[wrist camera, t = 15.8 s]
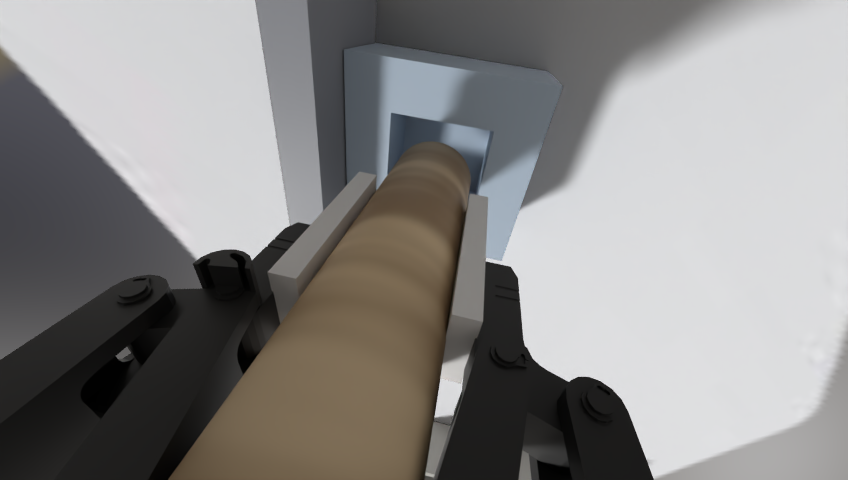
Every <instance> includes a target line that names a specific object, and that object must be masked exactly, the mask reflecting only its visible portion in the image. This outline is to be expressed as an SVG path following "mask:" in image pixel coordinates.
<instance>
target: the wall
mask: <svg viewBox="0 0 848 480" xmlns="http://www.w3.org/2000/svg"><path fill="white" fill-rule="evenodd" d="M255 2H256V8H257V15H258V21H259V28H260V34H261V41H262V47H263V54H264V60H265V67H266V73H267V80H268V86H269V93H270V99H271V106H272V112H273V119H274V125H275V132H276V138H277V145H278V151H279V158H280V164H281V171H282V177H283V184H284V190H285V197H286V203H287V210H288V216H289V223H290V226H291V225H293V224H295V223H297V222H300V223H304V224H309V225H311V224H312V223H313V222H314V221H315V220H316V218H317V217H318V216H319V215H320V214H321V213H322V212H323V211H324V210H325V209H326V207H327V206H328V205H329V204H330V203H331V202H332V201H333V200H334V199H335V198H336V197H337V195H338V194H339V193H340V192H341V191H342V190H343V189H344V188H345V187H346V186H347V171H346V127H345V84H344V49H348V48H353V47H358V46H363V45H369V44H374V43H375V42H376V6H377V0H255Z"/></svg>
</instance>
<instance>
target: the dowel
mask: <svg viewBox="0 0 848 480" xmlns="http://www.w3.org/2000/svg"><path fill="white" fill-rule="evenodd" d="M470 183H471V176H470V171H469V167H468V165H467V163H466V161H465V159H464V158H463V157H462V155H461V154H460V153H459V152H458V151H456V150H455V149H454V148H452V147H450V146H449V145H446V144H444V143H440V142H434V141H427V142H421V143H418V144H416V145H413V146H412V147H410V148H409V149H407V150H406V151H405V152H404V153H403V154H402V156H401V157H400V158H399V160H398V161H397V163H396V164H395V165H394V167H393V168H392V170H391V171H390V172H389V174H388V175H387V176H386V178H385V179H384V181H383V182H382V183H381V185H380V186H379V188H378V189H377V190H376V192H375V193H374V195H373V196H372V197H371V199H370V200H369V201H368V203H367V204H366V206H365V207H364V208H363V210H362V211H361V213H360V214H359V215H358V217H357V218H356V220H355V221H354V222H353V224H352V225H351V226H350V228H349V229H348V231H347V232H346V233H345V235H344V236H343V238H342V239H341V240H340V242H339V243H338V244H337V246H336V247H335V249H334V250H333V251H332V253H331V254H330V256H329V257H328V258H327V260H326V261H325V263H324V264H323V265H322V267H321V268H320V269H319V271H318V272H317V274H316V275H315V276H314V278H313V279H312V281H311V282H310V283H309V285H308V286H307V288H306V289H305V290H304V292H303V293H302V294H301V296H300V297H299V299H298V300H297V301H296V303H295V304H294V306H293V307H292V308H291V310H290V311H289V312H288V314H287V315H286V317H285V318H284V319H283V321H282V322H281V324H280V325H279V326H278V328H277V329H276V331H275V332H274V333H273V335H272V336H271V337H270V339H269V340H268V342H267V343H266V344H265V346H264V347H263V349H262V350H261V351H260V353H259V354H258V356H257V357H256V358H255V360H254V361H253V362H252V364H251V365H250V367H249V368H248V369H247V371H246V372H245V374H244V375H243V376H242V378H241V379H240V380H239V382H238V383H237V385H236V386H235V387H234V389H233V390H232V392H231V393H230V394H229V396H228V397H227V399H226V400H225V401H224V403H223V404H222V405H221V407H220V408H219V410H218V411H217V412H216V414H215V415H214V417H213V418H212V419H211V421H210V422H209V424H208V425H207V426H206V428H205V429H204V430H203V432H202V433H201V435H200V436H199V437H198V439H197V440H196V442H195V443H194V444H193V446H192V447H191V448H190V450H189V451H188V453H187V454H186V455H185V457H184V458H183V460H182V461H181V462H180V464H179V465H178V467H177V468H176V469H175V471H174V472H173V473H172V475H171V476H170V478H169V479H168V480H425V473H426V467H427V461H428V454H429V448H430V441H431V435H432V428H433V422H434V415H435V409H436V403H437V396H438V390H439V383H440V377H441V370H442V364H443V357H444V351H445V344H446V332H447V325H448V319H449V313H450V306H451V300H452V294H453V287H454V281H455V275H456V269H457V262H458V256H459V250H460V243H461V237H462V231H463V224H464V218H465V212H466V208H467V203H468V196H469V190H470Z"/></svg>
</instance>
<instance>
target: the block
mask: <svg viewBox="0 0 848 480" xmlns="http://www.w3.org/2000/svg"><path fill="white" fill-rule="evenodd" d="M344 84H345V127H346V171H347V184H348V183H349V182H350V181H351V180H352V179H353V178H354V177H355V176H356V175H357V174H358V172H364V173H369V174H374V175H377V181H376V190H377V189H378V188H379V186H380V185H381V183H382V182H383V181H384V179H385V178H386V176H387V175H388V174H389V172H390V171H391V170H392V168H393V167H394V165H395V164H396V163H397V161H398V160H399V158H400V157H401V156H402V154H403V153H404V152H405V151H406V150H407V149H409V148H410V147H412V146H413V145H416V144H418V143H421V142H427V141H434V142H440V143H444V144H446V145H449V146H450V147H452V148H454V149H455V150H456V151H458V152H459V153H460V154H461V155H462V157H463V158H464V159H465V161H466V163H467V165H468V167H469V171H470V176H471V183H470V190H469V195H470V194H475V195H480V196H485V197H488V216H487V239H486V258H490V259H495V260H500V261H502V258H503V255H504V253H505V250H506V247H507V244H508V241H509V238H510V236H511V233H512V230H513V227H514V224H515V221H516V219H517V216H518V213H519V210H520V207H521V204H522V202H523V199H524V196H525V193H526V190H527V187H528V184H529V182H530V179H531V176H532V173H533V170H534V167H535V165H536V162H537V159H538V156H539V153H540V150H541V148H542V145H543V142H544V139H545V136H546V133H547V131H548V128H549V125H550V122H551V119H552V116H553V114H554V111H555V108H556V105H557V102H558V99H559V97H560V94H561V91H562V88H563V86H562V85H561V84H560V83H559V82H558V81H557V80H556V79H555V78H554V77H553V76H552V75H551V74H550V73H549V72H548V71H544V70H538V69H532V68H526V67H520V66H514V65H508V64H502V63H496V62H490V61H484V60H478V59H472V58H466V57H459V56H453V55H447V54H441V53H435V52H429V51H423V50H417V49H411V48H405V47H399V46H393V45H387V44H381V43H374V44H369V45H363V46H358V47H353V48H348V49H344ZM468 199H469V196H468ZM467 204H468V203H467Z"/></svg>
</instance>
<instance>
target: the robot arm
mask: <svg viewBox="0 0 848 480" xmlns="http://www.w3.org/2000/svg"><path fill="white" fill-rule="evenodd" d="M376 181H377V175H374V174H369V173H364V172H358V174H357V175H356V176H355V177H354V178H353V179H352V180H351V181H350V182H349V183H348V184H347V186H346V187H345V188H344V189H343V190H342V191H341V192H340V193H339V194H338V195H337V197H336V198H335V199H334V200H333V201H332V202H331V203H330V204H329V205H328V206H327V207H326V209H325V210H324V211H323V212H322V213H321V214H320V215H319V216H318V217H317V218H316V220H315V221H314V222H313V223H312V224H311V225H309V224H304V223H300V222H297V223H295V224H293V225H291V226H289V227H287V228H285V229H284V230H283V231H282V232H281V233H280V234H279V235H278V236H277V237H276V238H275V239H274V240H273V241H271V242H270V243H269V244H268V247H265V248H264V249H263V250H262V251H261V252H260V253H259V254H258V255H257V256H256V257H255V258H254V259H253V260H251V258H250V256H249V255H248V254H246V253H245V252H243V251H239V250H221V251H216V252H212V253H210V254H207V255H205V256H203V257H201V258H200V259H198V260H197V261H196V262H195V263H193V265H194V268H195V270H196V273H197V275H198V278H199V280H200V283H201V285H202V289H173V290H172V289H171V288H170V287H169V284H168V283H167V280H166V279H164V278H162V277H160V276H155V275H144V276H137V277H133V278H130V279H127V280H124V281H122V282H120V283H118V284H116V285H114V286H112V287H111V288H109V289H108V290H106V291H105V292H104V293H102V294H100V295H99V296H97V297H96V298H94V299H92V300H91V301H90V302H88V303H86V304H85V305H83V306H82V307H80V308H79V309H78V310H76V311H74V312H73V313H71V314H70V315H68V316H67V317H65V318H64V319H62V320H61V321H59V322H57V323H56V324H54V325H53V326H51V327H50V328H48V329H47V330H45V331H44V332H42V333H41V334H39V335H38V336H36V337H35V338H33V339H32V340H30V341H28V342H27V343H25V344H24V345H23V346H21V347H19V348H18V349H16V350H15V351H13V352H12V353H10V354H9V355H7V356H6V357H4V358H3V359H1V360H0V480H168V479H169V478H170V476H171V475H172V473H173V472H174V471H175V469H176V468H177V467H178V465H179V464H180V462H181V461H182V460H183V458H184V457H185V455H186V454H187V453H188V451H189V450H190V448H191V447H192V446H193V444H194V443H195V442H196V440H197V439H198V437H199V436H200V435H201V433H202V432H203V430H204V429H205V428H206V426H207V425H208V424H209V422H210V421H211V419H212V418H213V417H214V415H215V414H216V412H217V411H218V410H219V408H220V407H221V405H222V404H223V403H224V401H225V400H226V399H227V397H228V396H229V394H230V393H231V392H232V390H233V389H234V387H235V386H236V385H237V383H238V382H239V380H240V379H241V378H242V376H243V375H244V374H245V372H246V371H247V369H248V368H249V367H250V365H251V364H252V362H253V361H254V360H255V358H256V357H257V356H258V354H259V353H260V351H261V350H262V349H263V347H264V346H265V344H266V343H267V342H268V340H269V339H270V337H271V336H272V335H273V333H274V332H275V331H276V329H277V328H278V326H279V325H280V324H281V322H282V321H283V319H284V318H285V317H286V315H287V314H288V312H289V311H290V310H291V308H292V307H293V306H294V304H295V303H296V301H297V300H298V299H299V297H300V296H301V294H302V293H303V292H304V290H305V289H306V288H307V286H308V285H309V283H310V282H311V281H312V279H313V278H314V276H315V275H316V274H317V272H318V271H319V269H320V268H321V267H322V265H323V264H324V263H325V261H326V260H327V258H328V257H329V256H330V254H331V253H332V251H333V250H334V249H335V247H336V246H337V244H338V243H339V242H340V240H341V239H342V238H343V236H344V235H345V233H346V232H347V231H348V229H349V228H350V226H351V225H352V224H353V222H354V221H355V220H356V218H357V217H358V215H359V214H360V213H361V211H362V210H363V208H364V207H365V206H366V204H367V203H368V201H369V200H370V199H371V197H372V196H373V195H374V193H375V192H376ZM487 216H488V197H485V196H480V195H475V194H470V195H469V199H468V204H467V208H466V212H465V218H464V224H463V231H462V237H461V243H460V250H459V256H458V262H457V269H456V275H455V281H454V287H453V294H452V300H451V306H450V313H449V319H448V325H447V332H446V344H445V351H444V357H443V364H442V370H441V377H440V379H444V380H448V381H452V382H456V383H460V384H461V382H462V379H463V386H462V392H461V395H460V397H459V400H458V403H457V405H456V408H455V411H454V416H453V419H452V422H451V425H450V428H449V431H448V435H447V438H446V441H445V444H444V447H443V450H442V453H441V456H440V460H439V463H438V466H437V469H436V472H435V475H434V478H433V480H519V472H520V464H521V457H522V450H523V451H525V452H526V453H528V454H529V461H530V470H531V479H532V480H654V479H653V476H652V474H651V471H650V468H649V466H648V463H647V460H646V458H645V455H644V452H643V450H642V447H641V445H640V442H639V439H638V437H637V434H636V431H635V429H634V426H633V423H632V421H631V418H630V415H629V413H628V411H627V409H626V407H625V405H624V403H623V402H622V400H621V399H620V397H619V396H618V395H617V394H616V393H615V392H614V391H613V390H612V389H611V388H609V387H608V386H606V385H605V384H604V383H602V382H601V381H598V380H595V379H593V378H590V377H577V378H575V379H573V380H571V381H570V382H568V381H566V380H564V379H562V378H560V377H558V376H556V375H555V374H553V373H551V372H549V371H547V370H546V369H544V368H543V367H541V366H540V365H539V364H538V363H536V362H535V361H534V360H533V359H532V357H531V355H530V353H529V351H528V349H527V348H526V347H525V345H524V341H523V332H522V320H521V309H520V302H519V301H520V297H519V286H518V278H517V276H516V275H515V273H514V271H513V270H512V268H511V267H509V266H504V265H499V264H495V263H490V262H486V239H487ZM125 347H128V349H129V350H130V351H131V354H129V355H128V356H126V357H124V358H123V359H117V357H116V355H117V354H118V353H119V352H121V351H122V350H123V349H124V348H125Z"/></svg>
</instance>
